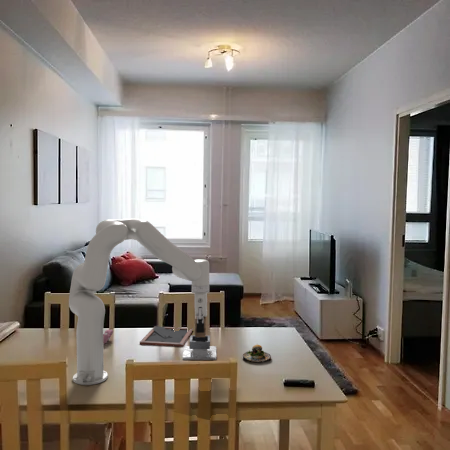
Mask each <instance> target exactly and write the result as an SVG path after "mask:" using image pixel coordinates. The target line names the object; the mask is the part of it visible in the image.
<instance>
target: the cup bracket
mask: <svg viewBox="0 0 450 450" xmlns="http://www.w3.org/2000/svg"><path fill="white" fill-rule="evenodd" d="M182 360H183V361H185V360H186V361H187V360H189V361H190V360H194V361H195V360H196V361H197V360H199V361H200V360H207V361H208V360H212V361H213V360H215V361H216V360H217V345H211V335H206V337H195V334H194V335H192V334H191V335H190V337H189V345H184V346H183V353H182Z"/></svg>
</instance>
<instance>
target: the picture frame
mask: <svg viewBox="0 0 450 450" xmlns="http://www.w3.org/2000/svg"><path fill="white" fill-rule="evenodd" d="M174 328H175V326H173V327H172V326H160V325H159V326H158V325H155V326H153V327H152V328H151V330H149V331H148V333H147V334H146V335H145V336H144V337H143V338H141V340H140V341H139V345H141V346H158V347H159V346H161V347H163V346H165V347H177V348H178V347H179V348H180V347H181V348H184V347H185V344H186V342H187V341H188V340H189V339H190V337H189V336H191V335H192V334H193V332H192V330H193V328H192V327H191V328H192V329H190V330H188V332H187V328H188V327H178V328H176V329H180V330H179V331H175V332H174V330H173V329H174ZM191 333H192V334H191Z"/></svg>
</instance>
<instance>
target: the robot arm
mask: <svg viewBox="0 0 450 450" xmlns="http://www.w3.org/2000/svg"><path fill="white" fill-rule="evenodd" d="M95 233H96V234H95V235H93V237H92V238H91V239H90V240H89V243H88V244H87V247H86V251H85V255H84V256H85V258H84V262H82V263H80V264H78V265H77V266H76V267H75V269H74V270H73V272H72V276H71V283H70V288H69V289H70V290H69V295H68V306H69V309H70V311H71V312H72V313H73V314H75V315H76V316H77V323H76V331H75V332H76V337H75V339H76V373H75V374H73V376H72V381H73V383H75V384H77V385H80V386H93V385H97V384H100V383H104V381H106V380H107V379H108V377H109V373H108V372H107V371H105V370H104V366H105V365H104V344H103V334H104V323H105V314H106V307H105V304H104V302H103V299H101V298H100V297H99V296H98V295H96V294H95V292H98V291H101V290H102V289H103V288H104V286H105V284H106V280H107V275H108V274H107V273H108V267H109V261H110V256H111V253H112V252H113V250H114V249H115V247H116V246H118V245H119V244H122V243H123V242H124V241H126V240H129V241H130V240H133V241H137V242H138V243H139V244H140V245H141V246H142V247H144V248H145V249H146V250H147V252H149V253H150V254H151V255H152V256H153V257H154V258H157V259H158V260H159V261H162V262H163V263H166V264H168V265H170V266H172V268H171V270H172V273H173V275H174V276H175V277H177V278H179V279H182V280H186V281H189V282H191V293H193V294H194V313H195V316H196V317H197V323H196V332H197V333H204V323H203V319H204V316H205V317H207V316H208V293H210V262H209V260H208V259H203V258H202V259H201V258H200V259H198V258H197V259H194V258H193V257H191V256H190V255H189V254H188V253H187V252H185V251H184V250H182V249H181V248H180V247H178V246H177V245H176V244H174V243H173V242H171V240H169V239H168V238H167V237H165V235H164V234H162V233H161V231H160V230H158V229H157V228H156V227H155V225H153V223H151V222H150V221H148V220H146V219H142V218H141V219H140V218H123V219H105V220H101V222H99V223H98V224H97V226H96V228H95Z"/></svg>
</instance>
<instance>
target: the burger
mask: <svg viewBox="0 0 450 450" xmlns="http://www.w3.org/2000/svg"><path fill="white" fill-rule="evenodd" d="M271 359H272V355H271V354H270V353H268V352H266V351H264V350H263V347H262V345H260V344H254V345H253V346H252V348H251V350H248V351H246V352H244V353H243V354H242V361H244V360H247V361H249V362H255V363H256V362H257V363H258V362H259V363H261V362H265V361H267V360H269V362H270V361H272V360H271Z"/></svg>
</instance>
